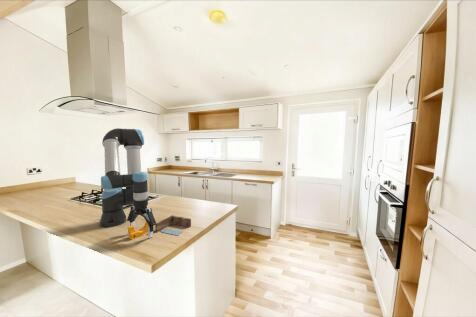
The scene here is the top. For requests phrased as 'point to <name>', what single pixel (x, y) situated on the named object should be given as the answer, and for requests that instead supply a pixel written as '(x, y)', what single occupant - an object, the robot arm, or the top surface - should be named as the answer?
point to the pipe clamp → (137, 231)
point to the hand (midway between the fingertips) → (141, 234)
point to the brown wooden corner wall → (172, 222)
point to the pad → (171, 231)
